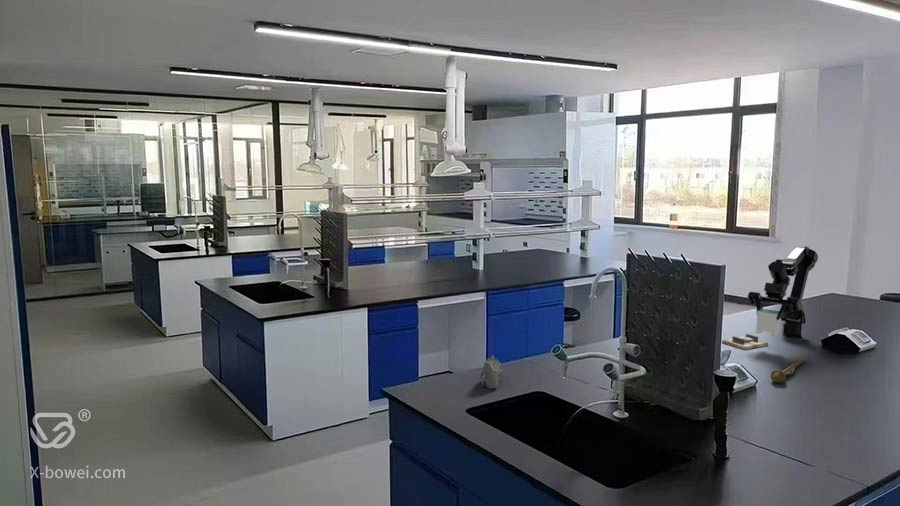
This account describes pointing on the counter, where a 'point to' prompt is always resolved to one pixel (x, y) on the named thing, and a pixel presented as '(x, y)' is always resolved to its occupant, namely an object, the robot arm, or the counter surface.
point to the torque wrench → (785, 372)
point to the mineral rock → (491, 373)
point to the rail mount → (745, 342)
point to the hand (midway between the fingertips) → (767, 317)
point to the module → (768, 321)
